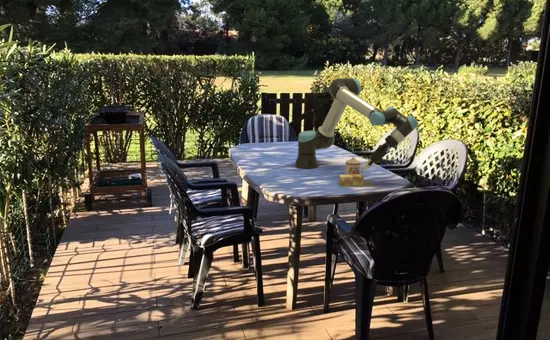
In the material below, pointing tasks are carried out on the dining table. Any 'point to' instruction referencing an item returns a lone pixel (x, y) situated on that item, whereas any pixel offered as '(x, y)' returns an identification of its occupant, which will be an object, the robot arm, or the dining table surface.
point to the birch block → (351, 179)
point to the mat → (365, 184)
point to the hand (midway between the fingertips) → (363, 168)
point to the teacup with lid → (353, 167)
